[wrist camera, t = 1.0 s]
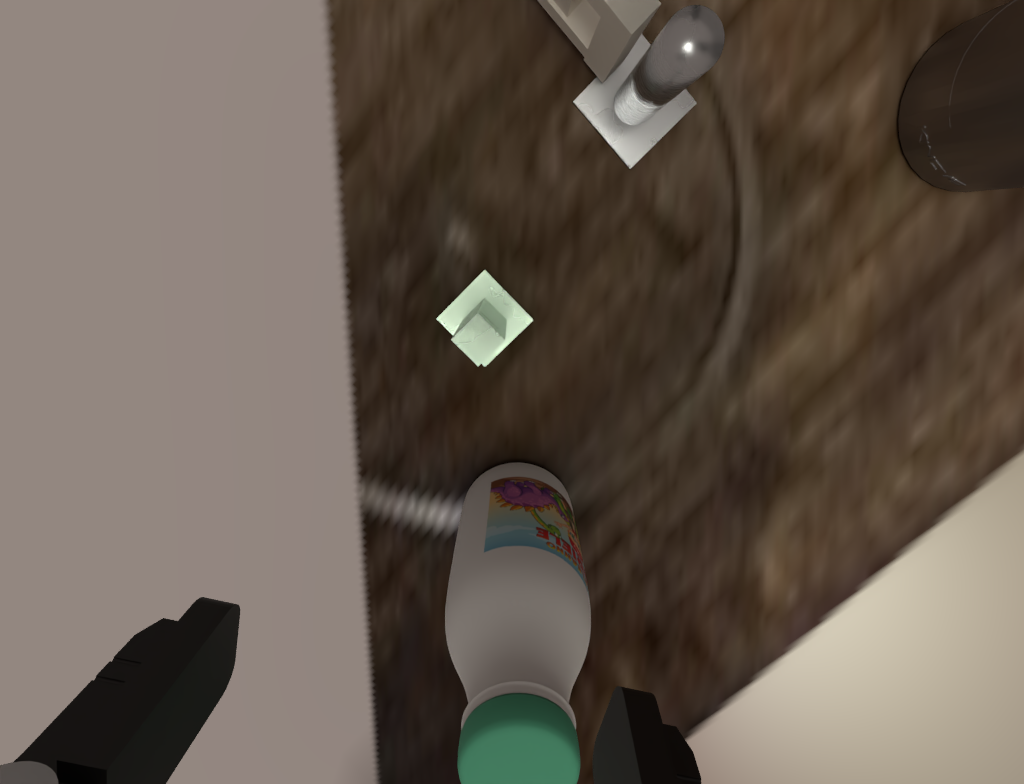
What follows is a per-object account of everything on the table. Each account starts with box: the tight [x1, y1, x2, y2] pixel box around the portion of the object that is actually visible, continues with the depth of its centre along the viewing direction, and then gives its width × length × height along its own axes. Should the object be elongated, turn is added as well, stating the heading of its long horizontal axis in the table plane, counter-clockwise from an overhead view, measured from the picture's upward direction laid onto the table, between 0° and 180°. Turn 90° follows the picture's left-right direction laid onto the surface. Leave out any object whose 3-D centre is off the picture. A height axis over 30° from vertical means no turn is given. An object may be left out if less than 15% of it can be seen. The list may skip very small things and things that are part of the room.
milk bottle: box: [445, 462, 591, 784], centre depth 30 cm, size 8×8×20 cm
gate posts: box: [437, 5, 725, 366], centre depth 28 cm, size 20×8×11 cm, turn 134°
